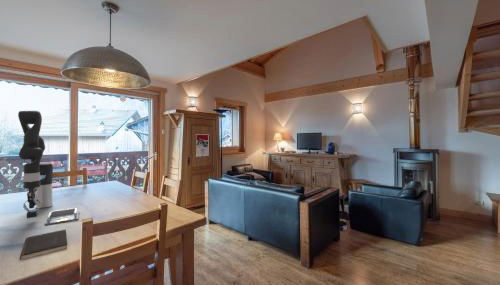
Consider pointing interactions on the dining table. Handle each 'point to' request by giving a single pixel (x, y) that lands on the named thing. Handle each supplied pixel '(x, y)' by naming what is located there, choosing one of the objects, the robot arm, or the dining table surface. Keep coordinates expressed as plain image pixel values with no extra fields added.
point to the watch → (32, 212)
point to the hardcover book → (44, 243)
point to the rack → (62, 216)
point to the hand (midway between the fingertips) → (32, 206)
